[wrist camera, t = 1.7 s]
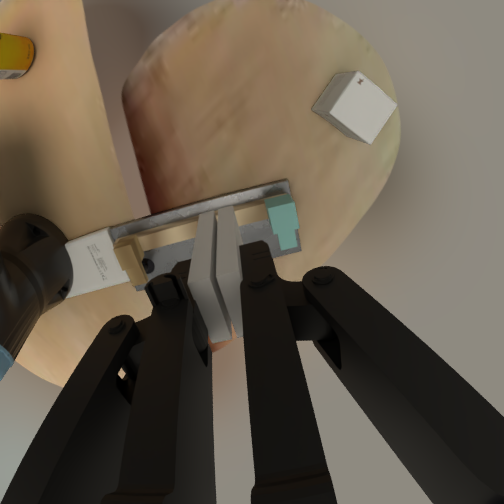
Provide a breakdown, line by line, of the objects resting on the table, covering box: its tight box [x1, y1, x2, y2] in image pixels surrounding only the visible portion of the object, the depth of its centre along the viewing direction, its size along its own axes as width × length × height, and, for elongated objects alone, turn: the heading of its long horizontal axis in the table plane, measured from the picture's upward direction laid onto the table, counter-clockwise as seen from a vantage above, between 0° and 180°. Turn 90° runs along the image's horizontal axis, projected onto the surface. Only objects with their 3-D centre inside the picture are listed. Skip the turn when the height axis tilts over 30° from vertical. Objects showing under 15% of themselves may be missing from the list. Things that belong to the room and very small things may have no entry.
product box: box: [312, 71, 398, 145], centre depth 33 cm, size 6×6×7 cm
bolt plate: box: [110, 179, 302, 291], centre depth 43 cm, size 24×10×1 cm, turn 103°
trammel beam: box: [113, 193, 287, 286], centre depth 40 cm, size 23×6×5 cm, turn 103°
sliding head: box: [264, 194, 299, 250], centre depth 39 cm, size 3×6×5 cm, turn 13°
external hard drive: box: [65, 227, 130, 299], centre depth 42 cm, size 2×8×12 cm
